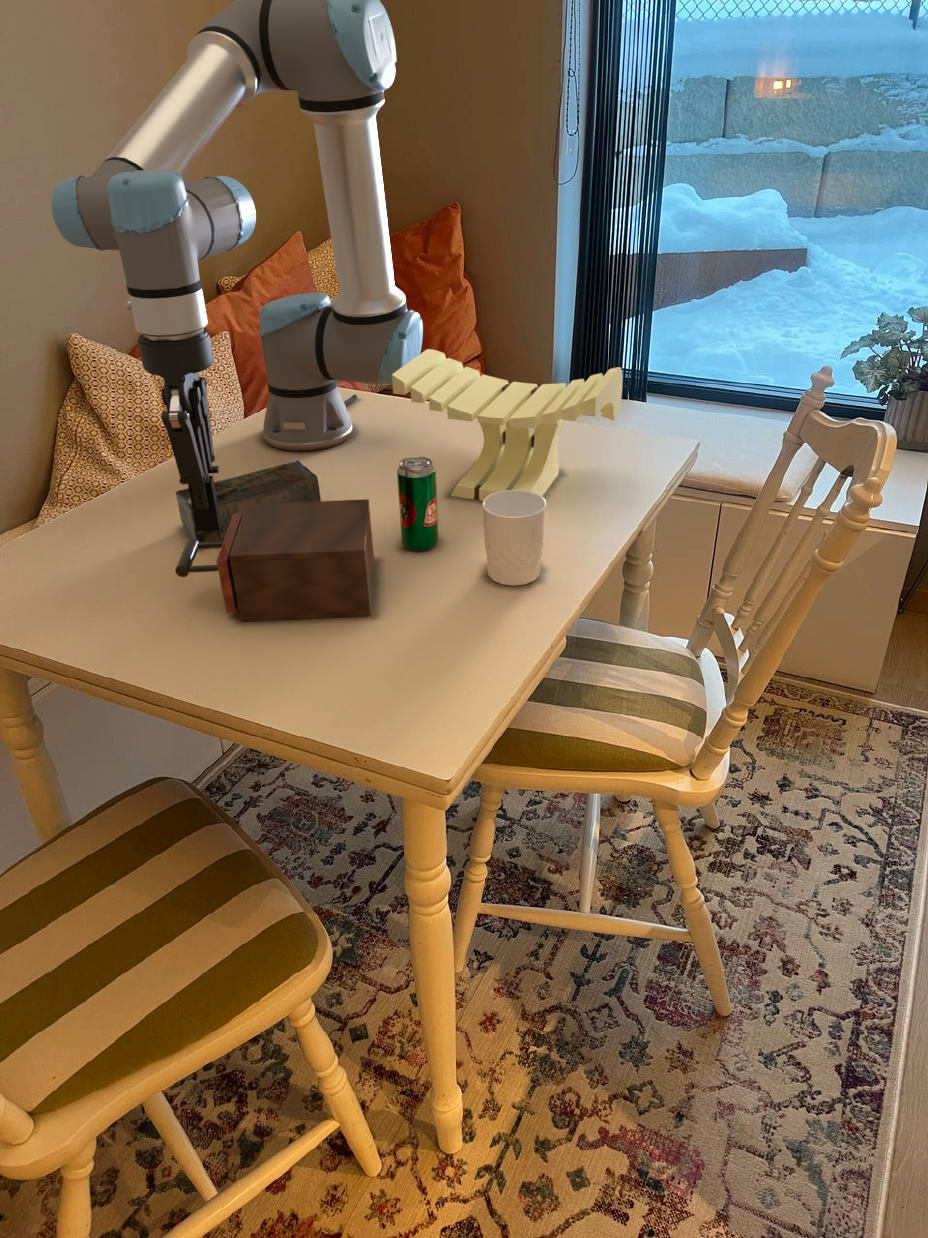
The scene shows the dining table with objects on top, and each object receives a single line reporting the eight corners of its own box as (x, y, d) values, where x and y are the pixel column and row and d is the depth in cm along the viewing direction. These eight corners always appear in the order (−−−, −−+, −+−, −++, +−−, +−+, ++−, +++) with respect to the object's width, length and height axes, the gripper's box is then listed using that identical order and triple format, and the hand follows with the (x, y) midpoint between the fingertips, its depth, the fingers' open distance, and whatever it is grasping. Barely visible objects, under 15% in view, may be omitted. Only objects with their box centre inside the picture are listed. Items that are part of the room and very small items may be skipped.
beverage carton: (180, 527, 134) (171, 485, 130) (305, 496, 142) (300, 455, 138) (197, 549, 128) (188, 506, 124) (326, 515, 136) (321, 473, 132)
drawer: (177, 616, 112) (165, 563, 108) (197, 565, 122) (187, 515, 119) (347, 608, 113) (341, 555, 109) (352, 558, 123) (347, 508, 119)
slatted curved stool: (616, 473, 146) (624, 360, 136) (589, 516, 134) (596, 396, 124) (439, 449, 156) (435, 343, 146) (399, 488, 143) (391, 374, 134)
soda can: (434, 554, 125) (430, 471, 119) (397, 551, 126) (392, 469, 120) (442, 536, 129) (439, 456, 123) (407, 534, 130) (402, 453, 124)
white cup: (474, 565, 123) (472, 496, 117) (528, 553, 125) (529, 484, 120) (498, 593, 116) (497, 522, 111) (554, 580, 119) (557, 509, 113)
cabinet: (240, 622, 112) (228, 555, 107) (256, 566, 124) (246, 504, 119) (370, 616, 113) (364, 549, 108) (374, 561, 124) (368, 498, 119)
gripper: (151, 316, 105) (188, 506, 118) (121, 350, 94) (166, 555, 107) (218, 314, 106) (248, 503, 118) (196, 347, 95) (232, 552, 107)
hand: (209, 527), depth 113 cm, fingers closed
